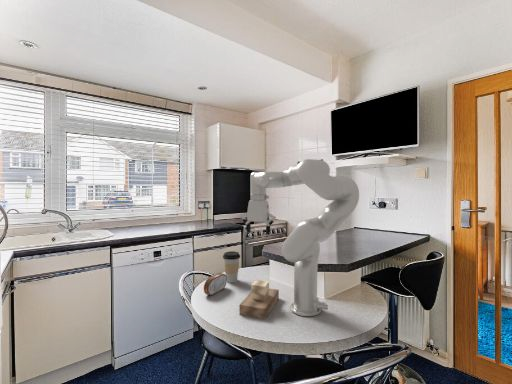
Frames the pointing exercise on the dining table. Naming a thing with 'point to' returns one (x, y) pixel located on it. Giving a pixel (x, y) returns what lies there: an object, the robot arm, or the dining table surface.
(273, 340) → the dining table surface
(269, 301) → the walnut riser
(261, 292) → the birch cube
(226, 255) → the coffee cup
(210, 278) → the tin
